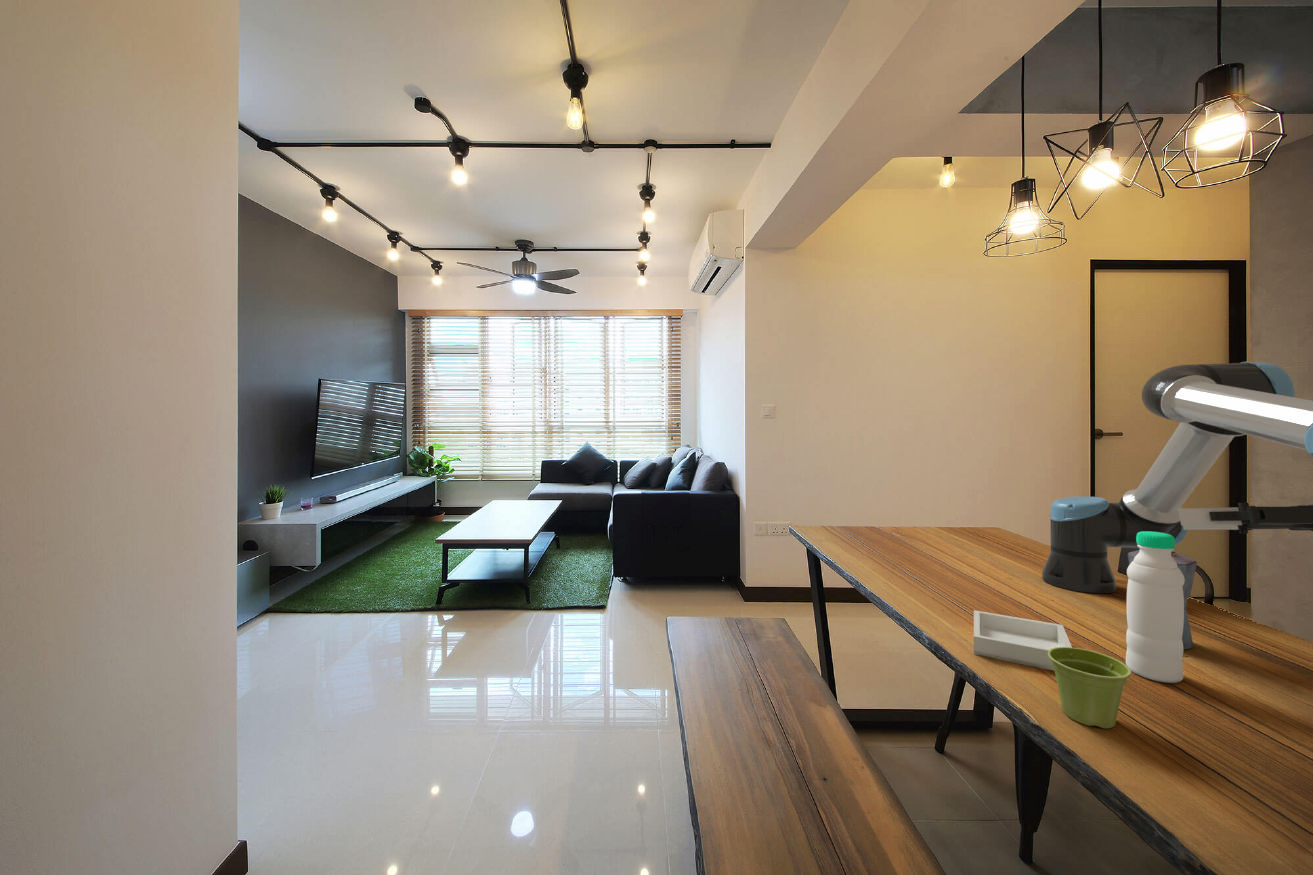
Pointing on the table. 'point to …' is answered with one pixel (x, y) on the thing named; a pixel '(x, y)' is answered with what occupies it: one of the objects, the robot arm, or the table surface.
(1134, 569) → the water bottle
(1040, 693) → the table surface
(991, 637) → the white tray
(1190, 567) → the moka pot
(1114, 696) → the plant pot
